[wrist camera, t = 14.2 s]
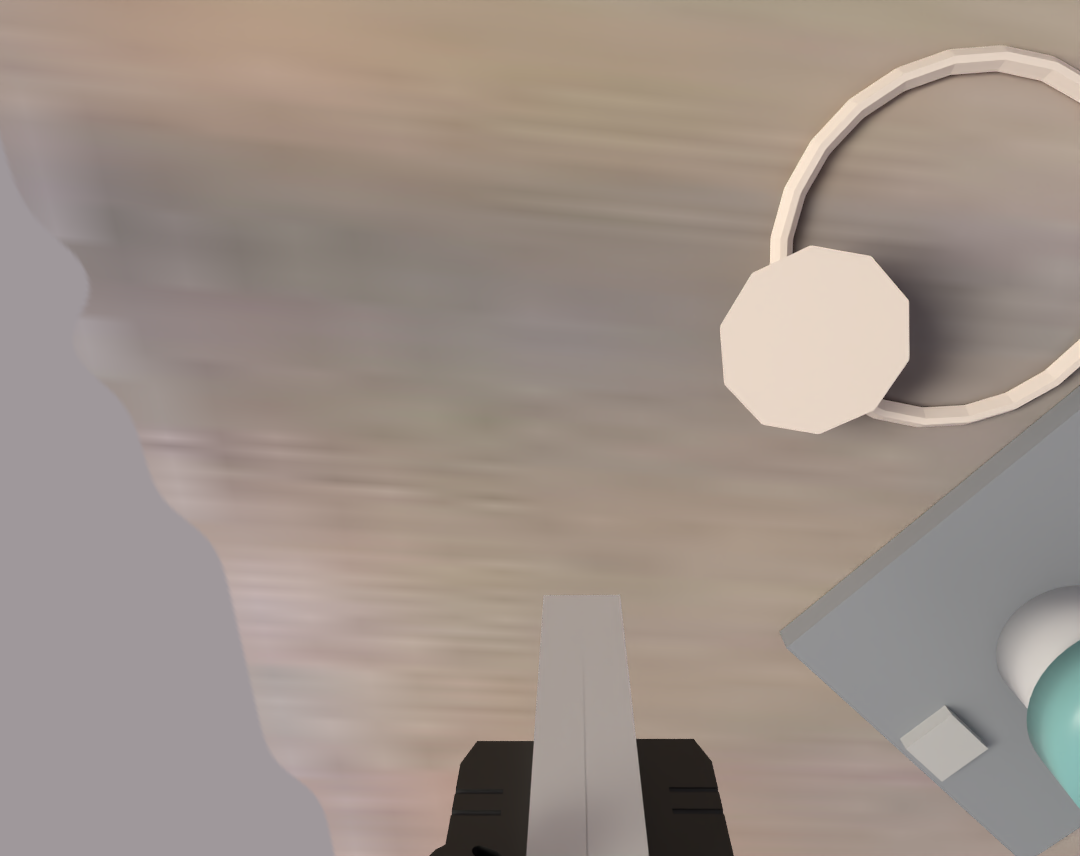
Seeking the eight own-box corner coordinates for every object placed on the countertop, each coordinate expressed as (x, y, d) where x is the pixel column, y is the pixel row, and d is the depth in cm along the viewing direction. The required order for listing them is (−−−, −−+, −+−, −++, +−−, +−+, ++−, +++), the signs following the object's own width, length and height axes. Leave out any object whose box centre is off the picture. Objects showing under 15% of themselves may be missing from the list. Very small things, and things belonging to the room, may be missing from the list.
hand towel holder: (1257, 353, 34) (794, 543, 37) (1182, 331, 38) (772, 505, 42) (1161, -57, 29) (644, 202, 33) (1088, -30, 34) (635, 198, 37)
